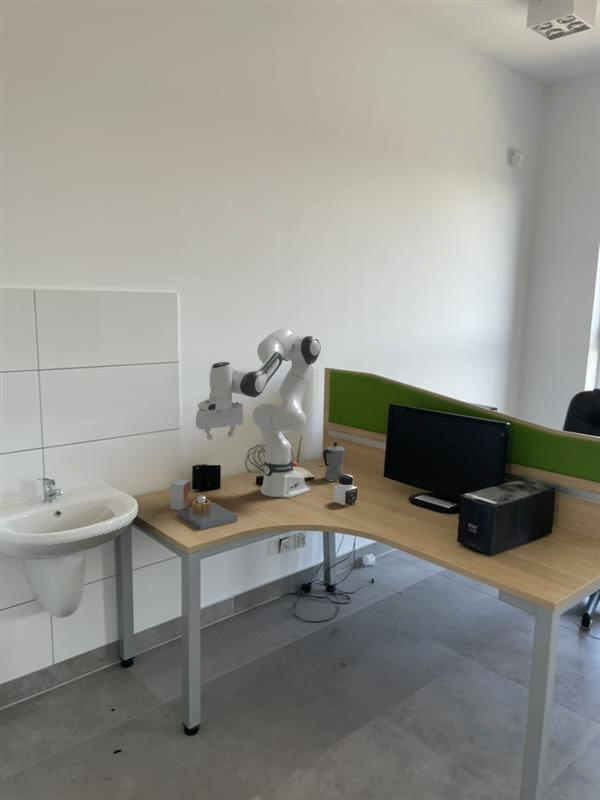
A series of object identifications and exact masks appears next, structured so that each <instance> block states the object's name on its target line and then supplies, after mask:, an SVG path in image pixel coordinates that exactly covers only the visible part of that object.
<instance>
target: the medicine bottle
mask: <svg viewBox="0 0 600 800" xmlns="http://www.w3.org/2000/svg"><path fill="white" fill-rule="evenodd" d="M357 500H358V487H357V486H354V477H353V475H350V474H346V473H345V474H344V473H343V475H340V476H339V481H338V485H334V487H333V502H334V503H335V502H337V503H340V504H342V505H341V506H343V505H349V504H352V503H355V502H358V501H357ZM337 503H336V504H337ZM340 504H339V505H340ZM352 505H353V504H352ZM349 506H350V505H349Z"/></svg>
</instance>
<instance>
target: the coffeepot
mask: <svg viewBox="0 0 600 800" xmlns="http://www.w3.org/2000/svg"><path fill="white" fill-rule="evenodd" d="M333 444H334V445H331V446H330V445H329V446H327V447H326V448H325V449H324V450H323V453H322V457H323V461H324V466H325V467H326V470H325V474H324V479H325V478H326V479H327V480H326V479H325V480H326V481H328V480H333V481H332V482H338V481H337V480H339V476H340V475H344V470H343V465H342V463H343V462H344V457H345V451H346V448H345V446H338V442H333Z"/></svg>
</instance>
